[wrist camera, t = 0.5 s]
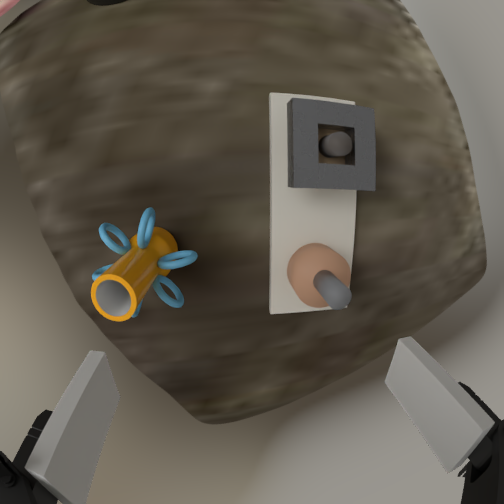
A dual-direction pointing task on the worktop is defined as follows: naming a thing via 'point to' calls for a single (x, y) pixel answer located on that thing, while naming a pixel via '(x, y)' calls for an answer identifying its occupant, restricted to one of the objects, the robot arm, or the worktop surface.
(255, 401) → the worktop surface
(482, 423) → the robot arm
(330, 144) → the stand
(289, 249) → the board
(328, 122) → the square frame with hole
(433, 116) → the worktop surface
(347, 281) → the peg
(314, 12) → the worktop surface
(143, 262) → the tube with blue rings
